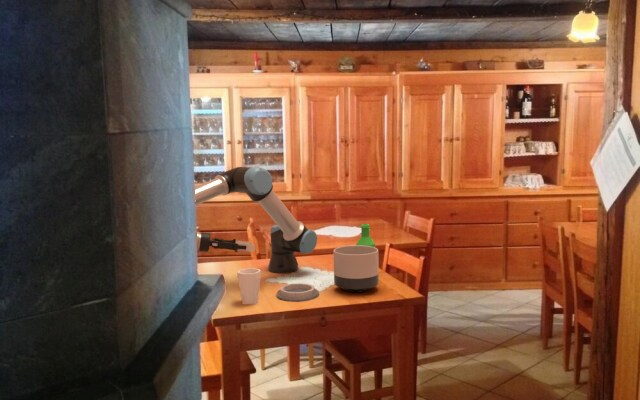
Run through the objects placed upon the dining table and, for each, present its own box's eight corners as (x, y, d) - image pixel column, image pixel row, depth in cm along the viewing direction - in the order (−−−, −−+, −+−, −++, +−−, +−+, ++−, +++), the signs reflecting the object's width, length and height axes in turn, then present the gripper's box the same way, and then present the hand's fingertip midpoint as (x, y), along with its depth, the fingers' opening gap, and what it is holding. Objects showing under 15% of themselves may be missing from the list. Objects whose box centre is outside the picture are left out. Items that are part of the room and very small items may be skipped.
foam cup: (266, 301, 220) (265, 270, 218) (248, 307, 213) (247, 275, 212) (251, 297, 226) (250, 267, 225) (233, 302, 220) (232, 271, 218)
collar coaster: (268, 294, 229) (267, 288, 229) (301, 286, 241) (301, 279, 240) (293, 304, 215) (293, 297, 215) (327, 294, 227) (327, 288, 227)
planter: (384, 294, 226) (384, 252, 224) (340, 298, 222) (339, 256, 220) (371, 282, 245) (370, 244, 243) (329, 285, 241) (328, 246, 239)
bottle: (374, 278, 251) (373, 225, 248) (355, 278, 252) (354, 225, 249) (376, 273, 259) (375, 222, 256) (358, 273, 261) (357, 222, 258)
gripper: (198, 248, 226) (248, 253, 230) (198, 254, 201) (254, 259, 206) (200, 230, 226) (250, 235, 230) (200, 234, 201) (257, 240, 206)
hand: (252, 246), depth 218 cm, fingers open, 13 cm apart
